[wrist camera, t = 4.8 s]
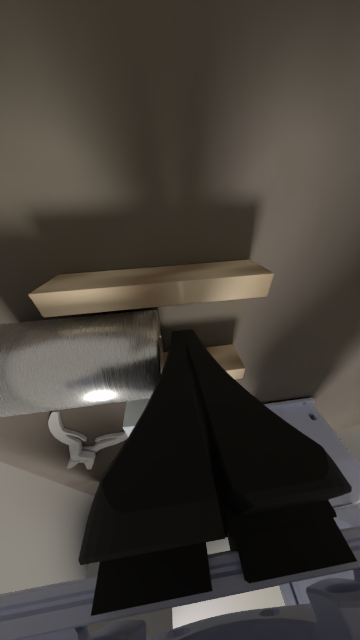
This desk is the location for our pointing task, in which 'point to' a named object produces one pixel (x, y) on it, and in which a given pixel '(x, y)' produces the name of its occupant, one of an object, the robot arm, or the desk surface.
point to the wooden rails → (157, 293)
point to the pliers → (75, 445)
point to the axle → (79, 361)
